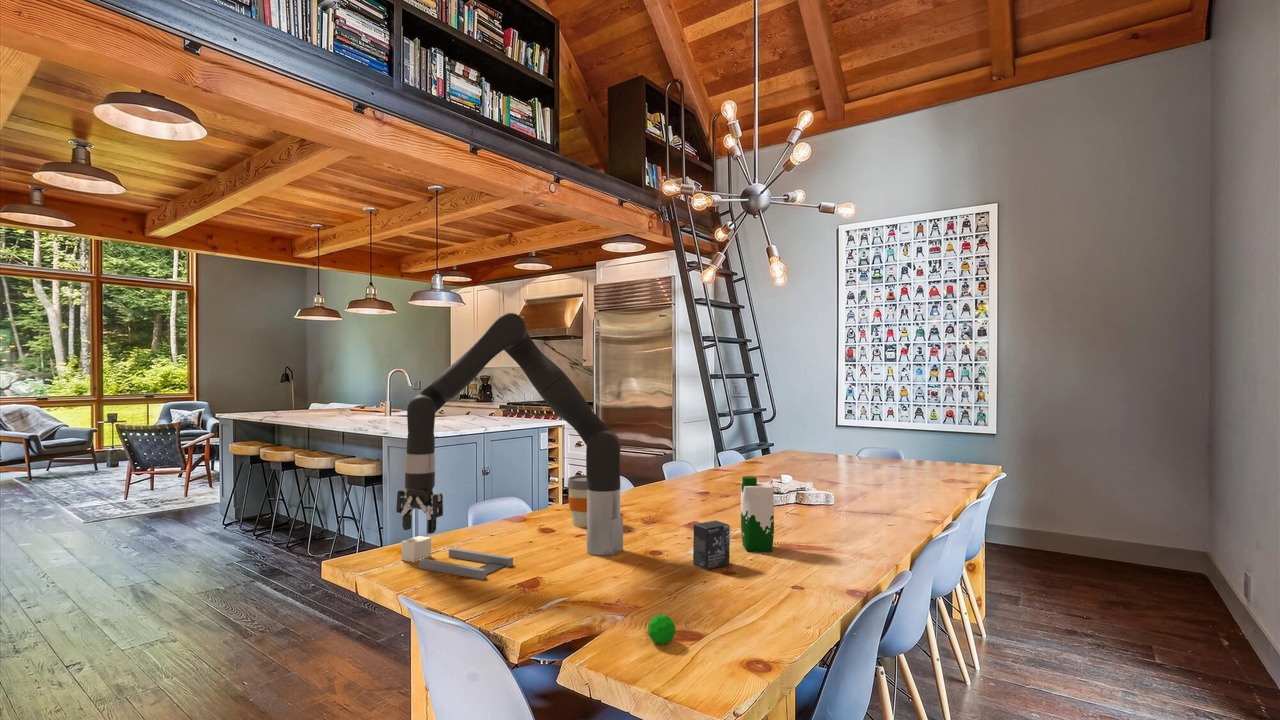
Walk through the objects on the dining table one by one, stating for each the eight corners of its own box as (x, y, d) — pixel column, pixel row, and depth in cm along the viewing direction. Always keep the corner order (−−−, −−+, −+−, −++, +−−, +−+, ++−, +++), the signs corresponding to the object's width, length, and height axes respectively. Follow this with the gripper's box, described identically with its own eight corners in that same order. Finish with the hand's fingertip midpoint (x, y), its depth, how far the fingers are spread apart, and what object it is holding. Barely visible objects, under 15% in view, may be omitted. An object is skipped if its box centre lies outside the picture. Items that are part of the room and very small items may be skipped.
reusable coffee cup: (608, 519, 203) (608, 475, 203) (602, 529, 190) (602, 481, 191) (571, 518, 204) (571, 474, 205) (563, 528, 192) (563, 481, 192)
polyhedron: (658, 651, 105) (658, 623, 106) (642, 641, 109) (642, 614, 110) (680, 644, 108) (680, 617, 108) (664, 634, 112) (664, 608, 112)
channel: (512, 565, 153) (513, 557, 154) (481, 579, 143) (482, 571, 143) (452, 555, 162) (452, 547, 162) (419, 568, 151) (419, 560, 151)
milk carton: (739, 544, 174) (738, 474, 174) (770, 544, 173) (770, 474, 174) (743, 552, 165) (743, 479, 165) (776, 553, 165) (776, 480, 165)
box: (706, 570, 149) (706, 528, 150) (692, 565, 154) (692, 523, 154) (730, 565, 154) (730, 524, 154) (715, 560, 158) (715, 519, 159)
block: (431, 556, 161) (431, 537, 162) (414, 562, 156) (414, 543, 156) (418, 554, 163) (418, 535, 163) (401, 560, 158) (401, 541, 158)
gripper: (450, 470, 160) (449, 531, 160) (411, 466, 166) (410, 525, 166) (430, 474, 153) (428, 538, 153) (389, 470, 160) (388, 531, 159)
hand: (418, 531), depth 159 cm, fingers open, 8 cm apart
